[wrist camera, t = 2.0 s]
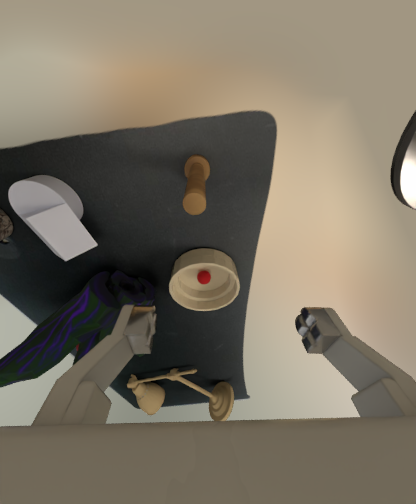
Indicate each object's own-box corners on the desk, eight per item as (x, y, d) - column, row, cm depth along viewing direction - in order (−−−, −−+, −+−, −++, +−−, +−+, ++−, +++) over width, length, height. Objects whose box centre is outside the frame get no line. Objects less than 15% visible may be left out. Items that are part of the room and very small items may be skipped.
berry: (209, 266, 41) (209, 276, 39) (211, 276, 43) (212, 286, 41) (195, 268, 42) (195, 278, 39) (198, 278, 43) (198, 288, 41)
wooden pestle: (206, 151, 28) (211, 177, 15) (211, 177, 30) (218, 219, 18) (182, 157, 28) (166, 187, 16) (188, 183, 31) (180, 227, 18)
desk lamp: (240, 414, 72) (159, 371, 61) (185, 443, 82) (108, 411, 72) (235, 375, 85) (168, 335, 74) (189, 404, 96) (124, 372, 85)
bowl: (231, 240, 38) (235, 256, 33) (238, 288, 47) (242, 305, 42) (163, 253, 39) (158, 270, 35) (183, 297, 48) (181, 315, 44)
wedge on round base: (105, 235, 36) (59, 168, 29) (88, 256, 31) (26, 180, 23) (66, 244, 37) (12, 182, 30) (43, 266, 32) (-30, 196, 24)
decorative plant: (162, 264, 53) (110, 330, 59) (56, 230, 34) (-6, 333, 40) (192, 323, 40) (121, 400, 46) (46, 320, 21) (-44, 453, 27)
